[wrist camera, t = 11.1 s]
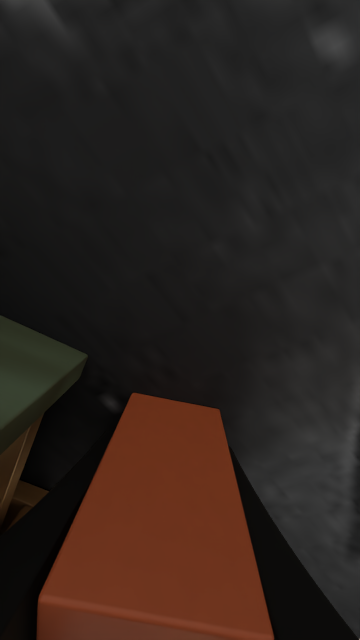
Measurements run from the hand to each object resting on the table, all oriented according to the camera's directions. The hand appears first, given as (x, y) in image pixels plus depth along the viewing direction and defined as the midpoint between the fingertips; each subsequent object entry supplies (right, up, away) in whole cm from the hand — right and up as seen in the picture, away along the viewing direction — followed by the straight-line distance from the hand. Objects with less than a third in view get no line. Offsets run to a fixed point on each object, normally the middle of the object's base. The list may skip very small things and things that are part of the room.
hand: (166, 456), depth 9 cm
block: (0, 0, +1) cm, 1 cm away
